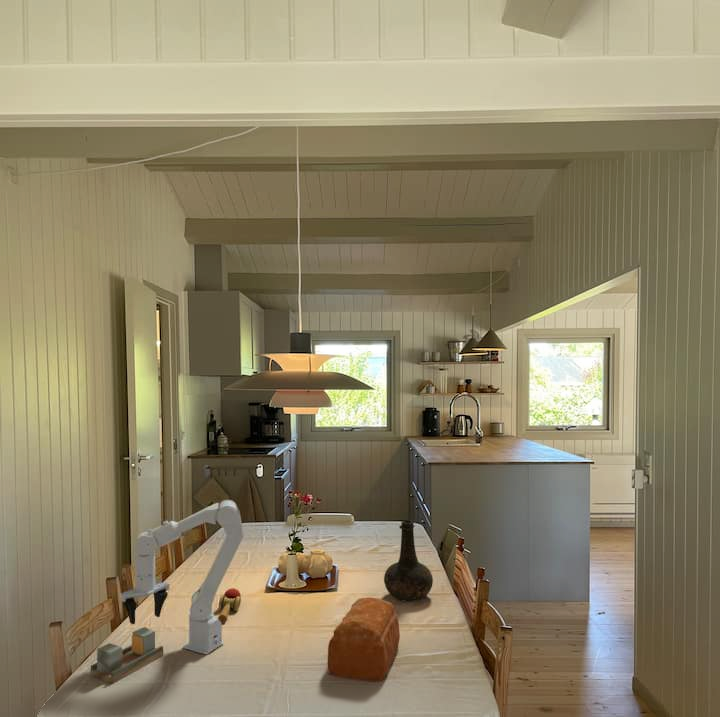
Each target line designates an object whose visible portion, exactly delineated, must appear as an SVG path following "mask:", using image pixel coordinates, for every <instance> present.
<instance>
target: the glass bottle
mask: <svg viewBox="0 0 720 717" xmlns="http://www.w3.org/2000/svg"><path fill="white" fill-rule="evenodd" d="M414 527H415V525H414V521H412V520H409V519H408V520H402V521H401V525H399V529H401V536H400V550H399V551H400V552H399V558H398V561H397V562H395V563H392V564H391V565H390V566H389V567H388V568H386V569H385V570H386V571H385V573H384V575H383V584H384V586H385V589H386V590H387V592H388V594H390V595H391V596H392V597H393V598H394V599H397V600H399V601H401V602H417V601H420V600H422V599H424V598H425V597H427V596H428V594H429V593H430V591H431V590H432V587H433V583H434V580H433V574H432V572H431V571H430V569H429V568H428V567H427V565H425V564H423V563H421V562H419V560H418V556H417V553H416V547H415V546H416V545H415V535H414Z"/></svg>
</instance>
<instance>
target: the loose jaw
mask: <svg viewBox="0 0 720 717" xmlns="http://www.w3.org/2000/svg"><path fill="white" fill-rule="evenodd" d="M131 645H132V653H135V654H137V655H139V656H143V655H145V654H147V653H148V652H150V651H152V650H154V649H155V648H156V631H155V630H153V629H150V628H147V627H141V628H138V629H136V630H134V631H132V635H131Z"/></svg>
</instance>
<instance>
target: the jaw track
mask: <svg viewBox="0 0 720 717" xmlns="http://www.w3.org/2000/svg"><path fill="white" fill-rule="evenodd" d="M96 649H97V650H96V660H97V661H96V662H95V663H94V664H91V665H90V670H89V671H90V676H91V677H94V678H97V679H100V680H102V681H105V682H108V683H111V684H115V683H117V682H118V681H119V682H120V680H122V679H124V678H126V677H128V676H130V675H132V674H133V673H134V672H136V671H138V670H140V669H142V668H144V667H146V666H147V665H149V664H151V663H153V662H154V661H156V660H158V659H159V658H162V657H163V656H164V646H163V645H160V646H158V647H155V649H154V650H152V651H150V652H148V653H147V654H145V655H143V656H139V655H137V654H135V653H132V644H131V645H129V646H127V647H125V648H123V647H122V646H120V645H116V644H113V643H109V642H108V643H107V644H105V645H103V646H101V647H99V648H96Z"/></svg>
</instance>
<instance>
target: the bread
mask: <svg viewBox="0 0 720 717" xmlns="http://www.w3.org/2000/svg"><path fill="white" fill-rule="evenodd" d="M394 606H395V605H393V604H392V603H391V602H389V601H387V600H383V599H381V598H376V597H361V598H358V599H356V601H354V603H352V604H351V606H350V609H349V611H348V612H346V614H345V616H344V617H343V618H342V619H341V620H342V621H341V622H340V623H339V624H338V625H337V626H336V627H335V629H334V630H333V635H332V636H331V638H330V640H329V642H328V646H327V671H328V673H329V675H333V676H335V677H339V678H344V679H351V680H358V681H366V682H367V681H369V682H377V681H381V680H383V679H384V677H386V676H387V674H388V671H389V670H390V667H391V665H392V662H393V660H394V657H395V656H396V655H397V654H396V653H397V651H398V650H399V644H400V643H399V642H400V638H401V634H400V624H399V617H398V616H397V614H396V613H395V607H394Z"/></svg>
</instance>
